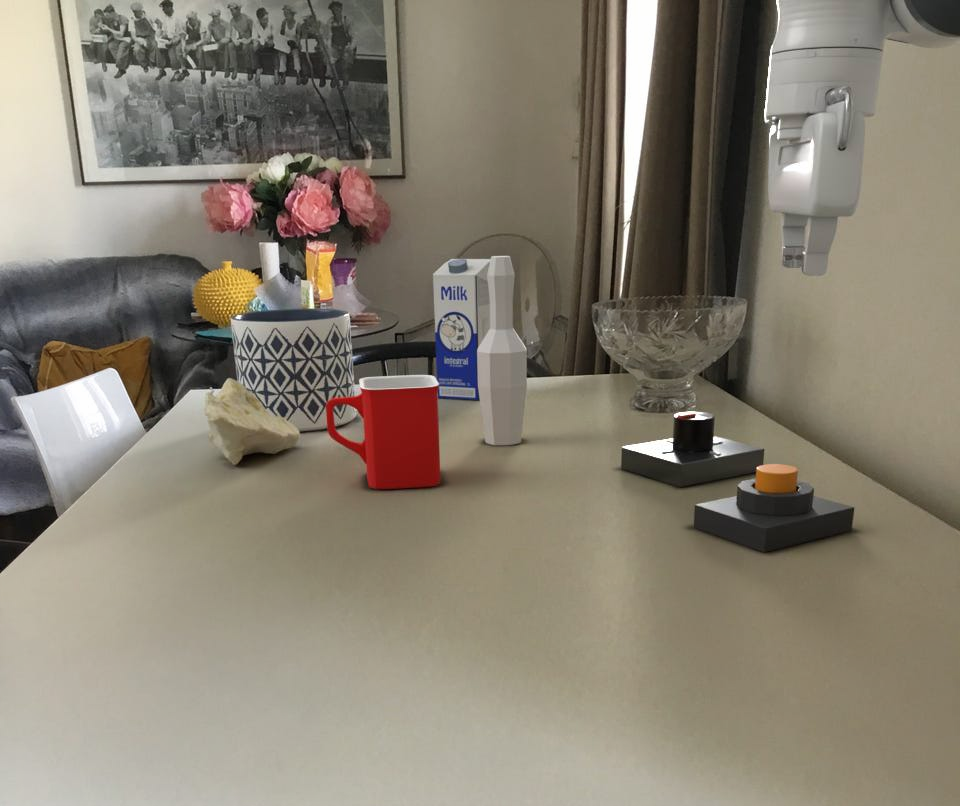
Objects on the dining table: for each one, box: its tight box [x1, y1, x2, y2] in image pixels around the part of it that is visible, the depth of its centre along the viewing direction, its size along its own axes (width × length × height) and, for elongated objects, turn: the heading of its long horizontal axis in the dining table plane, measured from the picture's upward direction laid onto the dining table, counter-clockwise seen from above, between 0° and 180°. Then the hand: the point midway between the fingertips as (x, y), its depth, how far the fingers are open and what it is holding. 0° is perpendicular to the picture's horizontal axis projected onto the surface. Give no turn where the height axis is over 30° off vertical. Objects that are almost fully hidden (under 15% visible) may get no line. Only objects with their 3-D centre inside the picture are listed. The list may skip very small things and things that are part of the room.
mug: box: [326, 374, 442, 490], centre depth 114 cm, size 12×8×11 cm
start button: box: [755, 463, 799, 493], centre depth 95 cm, size 4×4×2 cm
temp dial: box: [672, 411, 716, 452], centre depth 116 cm, size 4×4×4 cm
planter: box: [230, 308, 357, 432], centre depth 145 cm, size 16×16×14 cm
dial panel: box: [620, 435, 765, 488], centre depth 117 cm, size 12×10×3 cm
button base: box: [693, 477, 855, 553], centre depth 96 cm, size 11×9×4 cm
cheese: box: [203, 377, 301, 466], centre depth 126 cm, size 15×7×15 cm
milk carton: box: [431, 258, 491, 401], centre depth 160 cm, size 7×7×20 cm
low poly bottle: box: [477, 255, 528, 446], centre depth 129 cm, size 6×6×22 cm
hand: (801, 271), depth 92 cm, fingers open, 8 cm apart
